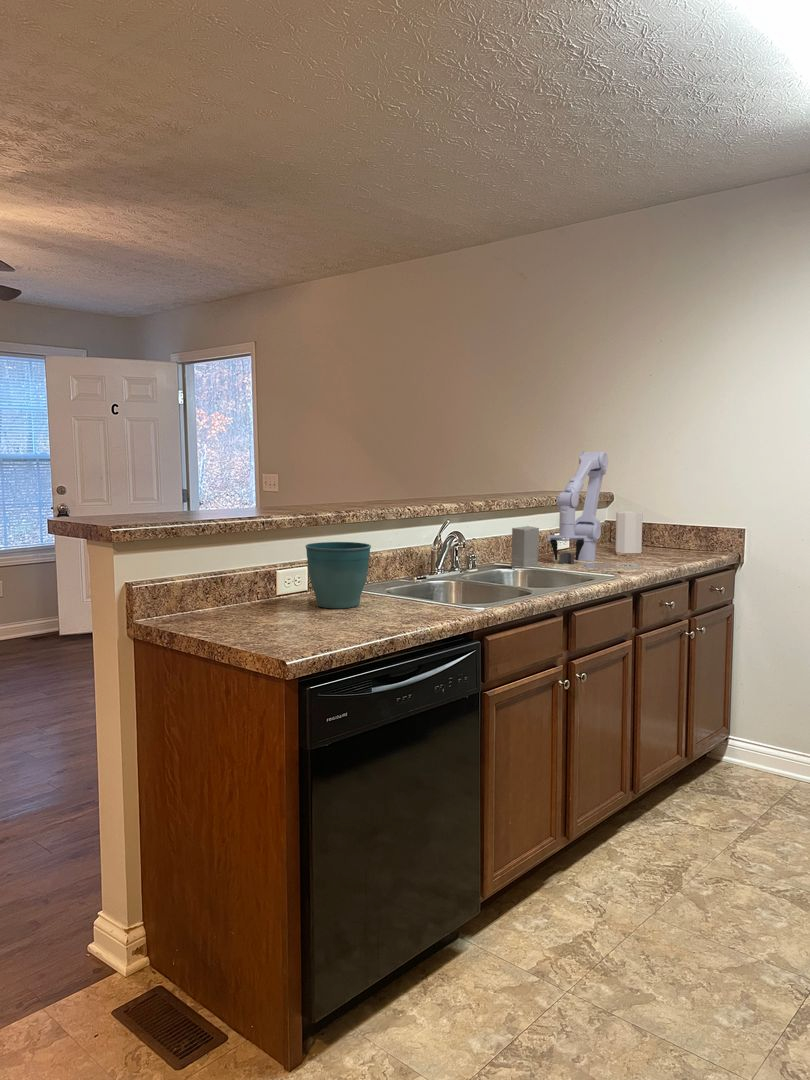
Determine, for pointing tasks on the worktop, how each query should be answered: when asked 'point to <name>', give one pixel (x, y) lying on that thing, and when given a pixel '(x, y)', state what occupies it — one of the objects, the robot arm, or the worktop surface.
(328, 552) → the flower pot
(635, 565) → the rail board
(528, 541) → the skincare box
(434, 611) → the worktop surface
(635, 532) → the white upright block
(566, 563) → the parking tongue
